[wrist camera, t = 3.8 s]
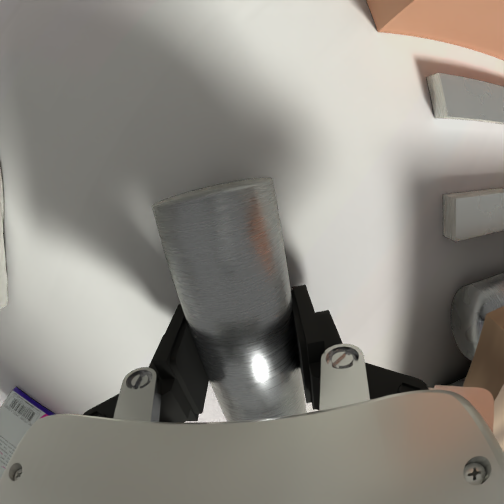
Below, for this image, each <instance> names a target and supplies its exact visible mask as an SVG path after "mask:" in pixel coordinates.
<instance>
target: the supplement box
mask: <svg viewBox="0 0 504 504" xmlns="http://www.w3.org/2000/svg"><path fill="white" fill-rule="evenodd" d="M50 415H56V414H54V413H52V412H51V411H49V410H48V409H46V408H45V407H43V406H42V405H40V404H39V403H37V402H36V401H34V400H33V399H32V398H30V397H29V396H28V395H26V394H25V393H24V392H22V391H21V390H20V389H18V388H17V387H15V388H14V389H13V391H12V392H11V393H10V394H9V396H8V397H7V399H6V400H5V401H4V403H3V404H2V406H1V407H0V479H1V477H2V474H3V472H4V470H5V468H6V466H7V464H8V462H9V460H10V458H11V457H12V455H13V453H14V451H15V449H16V448H17V446H18V444H19V443H20V441H21V439H22V438H23V436H24V435H25V433H26V432H27V431H28V429H29V428H30V427H31V426H32V424H33V423H34V422H36V421H37V420H38V419H40V418H43V417H46V416H50Z"/></svg>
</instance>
